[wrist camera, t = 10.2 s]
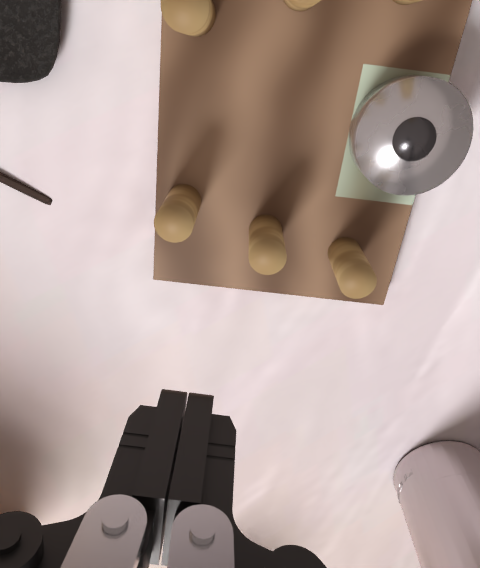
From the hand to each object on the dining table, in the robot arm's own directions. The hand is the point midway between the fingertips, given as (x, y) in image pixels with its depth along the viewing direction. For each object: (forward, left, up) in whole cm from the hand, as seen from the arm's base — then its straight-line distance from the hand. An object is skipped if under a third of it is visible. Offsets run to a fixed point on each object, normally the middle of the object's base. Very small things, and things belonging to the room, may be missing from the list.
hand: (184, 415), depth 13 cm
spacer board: (-4, -5, -23) cm, 24 cm away
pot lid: (-11, -6, -22) cm, 25 cm away
